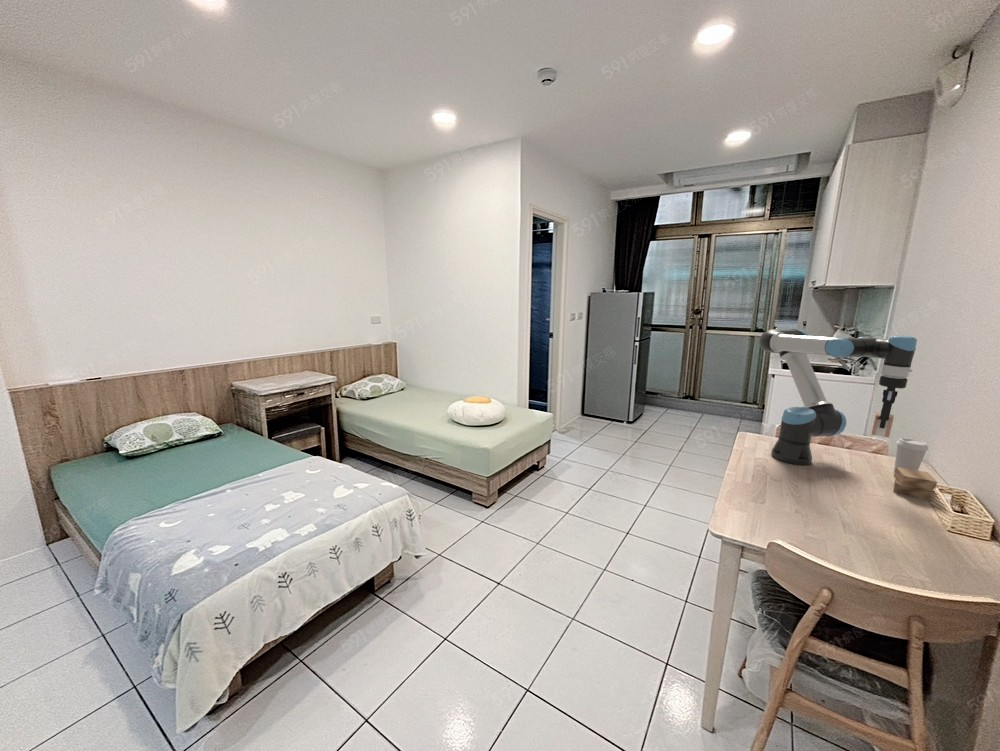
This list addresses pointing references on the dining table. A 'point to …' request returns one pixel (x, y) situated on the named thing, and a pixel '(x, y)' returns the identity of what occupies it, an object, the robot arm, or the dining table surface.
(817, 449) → the dining table surface
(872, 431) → the terracotta block
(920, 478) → the slab top
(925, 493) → the slab bottom
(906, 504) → the dining table surface
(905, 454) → the coffee cup
